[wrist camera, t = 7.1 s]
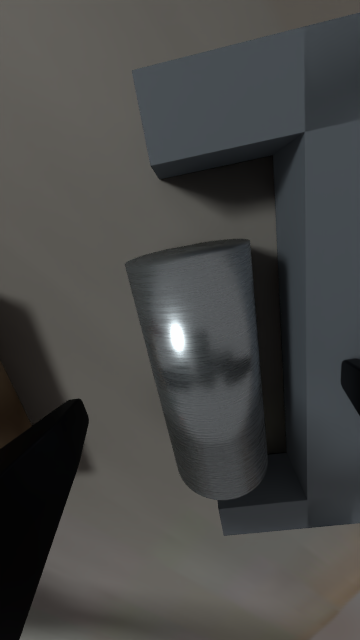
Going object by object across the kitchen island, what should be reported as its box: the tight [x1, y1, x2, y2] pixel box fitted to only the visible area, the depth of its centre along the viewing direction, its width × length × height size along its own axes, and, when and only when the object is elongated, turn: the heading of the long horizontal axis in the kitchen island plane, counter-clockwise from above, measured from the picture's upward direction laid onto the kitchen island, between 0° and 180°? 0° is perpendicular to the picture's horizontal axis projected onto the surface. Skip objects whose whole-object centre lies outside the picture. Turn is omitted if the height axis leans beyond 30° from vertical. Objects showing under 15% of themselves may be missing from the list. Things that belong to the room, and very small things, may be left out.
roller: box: [125, 239, 268, 500], centre depth 10 cm, size 9×4×4 cm, turn 10°
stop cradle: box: [132, 13, 360, 536], centre depth 10 cm, size 18×7×2 cm, turn 11°
